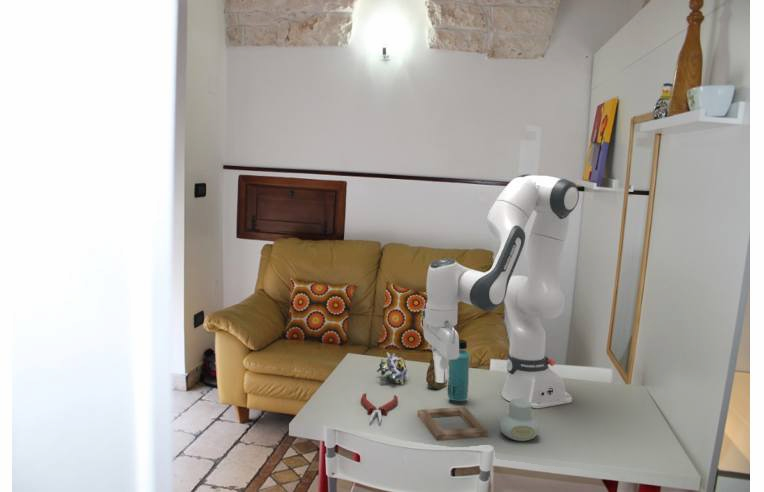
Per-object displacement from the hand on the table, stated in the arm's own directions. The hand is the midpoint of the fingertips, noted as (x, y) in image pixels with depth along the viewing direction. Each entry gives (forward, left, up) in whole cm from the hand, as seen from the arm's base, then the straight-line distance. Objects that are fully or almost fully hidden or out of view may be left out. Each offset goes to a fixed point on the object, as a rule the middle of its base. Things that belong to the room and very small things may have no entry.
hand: (440, 364), depth 174 cm
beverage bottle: (-12, -16, -18) cm, 27 cm away
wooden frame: (-4, 0, -18) cm, 19 cm away
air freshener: (-20, +10, -18) cm, 29 cm away
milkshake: (0, 0, -5) cm, 5 cm away
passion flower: (+4, -37, -18) cm, 41 cm away
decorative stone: (-10, -30, -18) cm, 36 cm away
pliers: (+15, -14, -19) cm, 28 cm away
